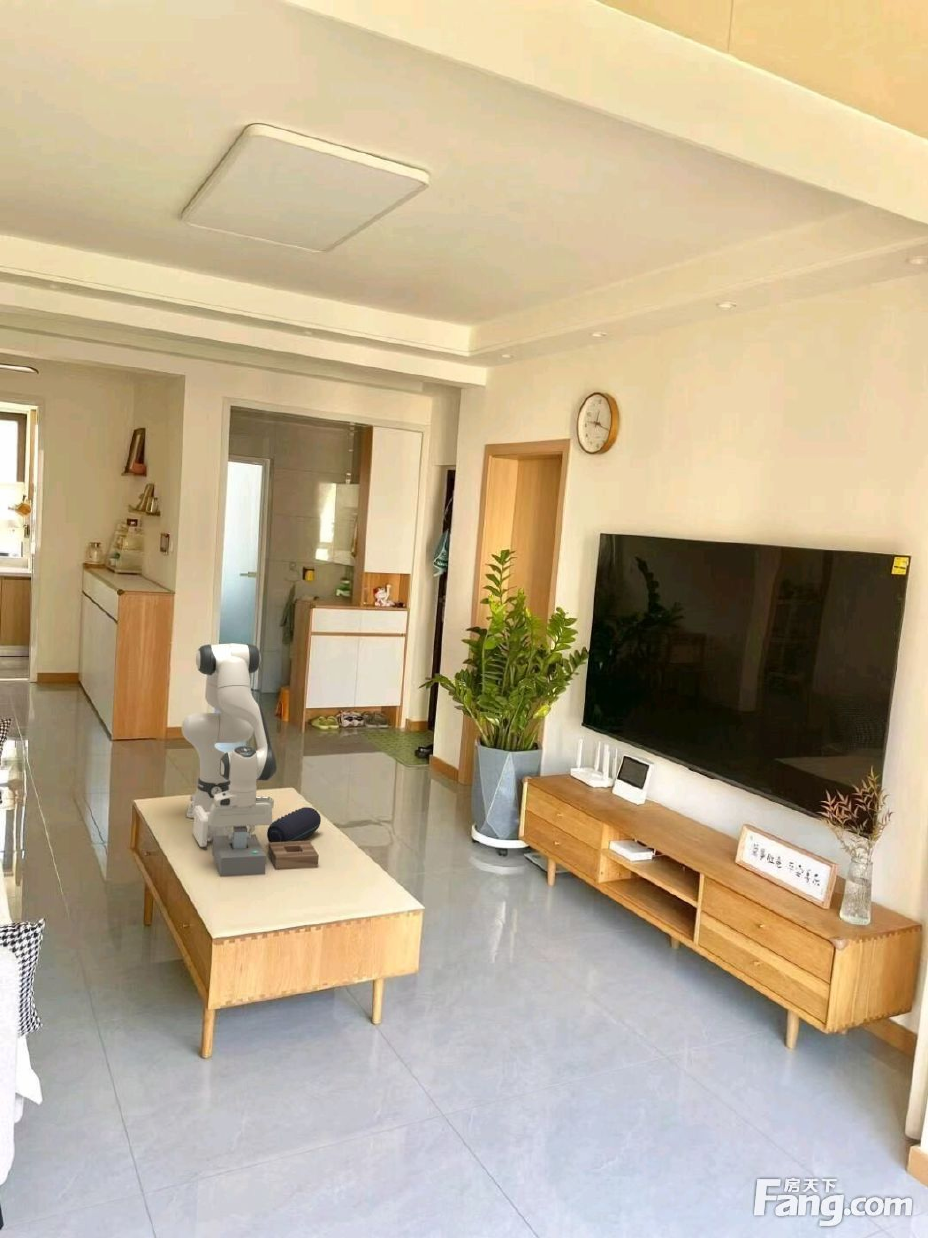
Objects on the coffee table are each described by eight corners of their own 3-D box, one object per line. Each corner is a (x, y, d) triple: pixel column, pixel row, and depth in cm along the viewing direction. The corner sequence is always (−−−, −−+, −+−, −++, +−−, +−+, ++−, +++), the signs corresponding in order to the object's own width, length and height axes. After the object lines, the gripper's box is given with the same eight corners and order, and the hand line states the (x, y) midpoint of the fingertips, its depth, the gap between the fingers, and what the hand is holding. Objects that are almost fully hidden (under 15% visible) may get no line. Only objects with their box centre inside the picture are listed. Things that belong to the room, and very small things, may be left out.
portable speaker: (299, 828, 354) (300, 802, 352) (322, 834, 350) (324, 807, 349) (260, 848, 330) (262, 820, 329) (285, 854, 327) (288, 826, 326)
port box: (212, 853, 322) (213, 835, 321) (254, 851, 327) (255, 833, 326) (220, 876, 303) (221, 856, 302) (264, 873, 308) (266, 854, 308)
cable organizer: (231, 848, 328) (233, 815, 326) (199, 851, 323) (201, 817, 322) (221, 833, 341) (223, 801, 340) (191, 835, 336) (193, 803, 335)
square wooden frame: (267, 854, 326) (268, 842, 325) (308, 851, 331) (309, 840, 330) (275, 869, 313) (276, 857, 312) (317, 867, 318) (318, 855, 318)
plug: (231, 854, 316) (233, 825, 314) (243, 854, 317) (245, 824, 316) (233, 859, 312) (235, 829, 311) (245, 858, 313) (247, 828, 312)
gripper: (272, 793, 319) (269, 833, 321) (209, 795, 312) (206, 836, 313) (276, 799, 313) (273, 840, 315) (211, 801, 306) (209, 843, 307)
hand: (239, 838), depth 314 cm, fingers closed on plug, 4 cm apart
